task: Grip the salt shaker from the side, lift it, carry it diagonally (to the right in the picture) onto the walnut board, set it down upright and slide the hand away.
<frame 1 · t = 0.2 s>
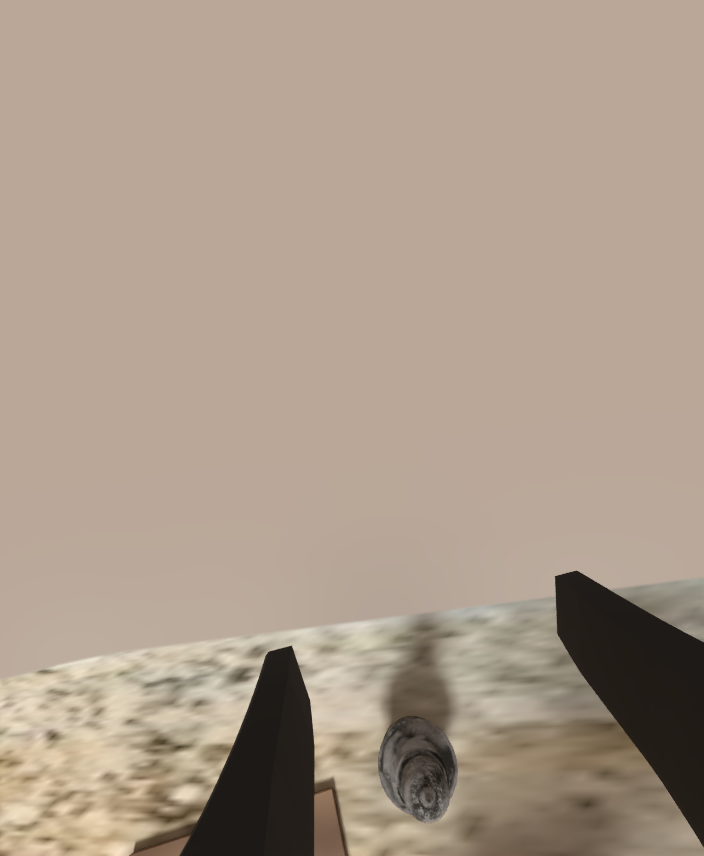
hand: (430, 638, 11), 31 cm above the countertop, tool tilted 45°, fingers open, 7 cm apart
salt shaker: (413, 754, 36), on the countertop
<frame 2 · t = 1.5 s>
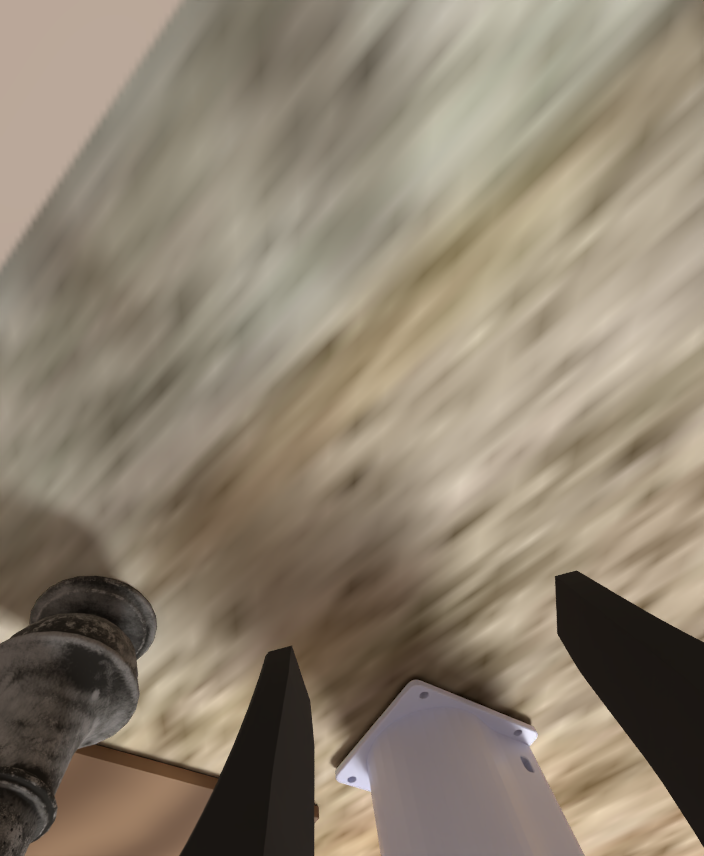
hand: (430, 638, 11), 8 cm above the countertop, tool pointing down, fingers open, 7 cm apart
salt shaker: (97, 621, 20), on the countertop
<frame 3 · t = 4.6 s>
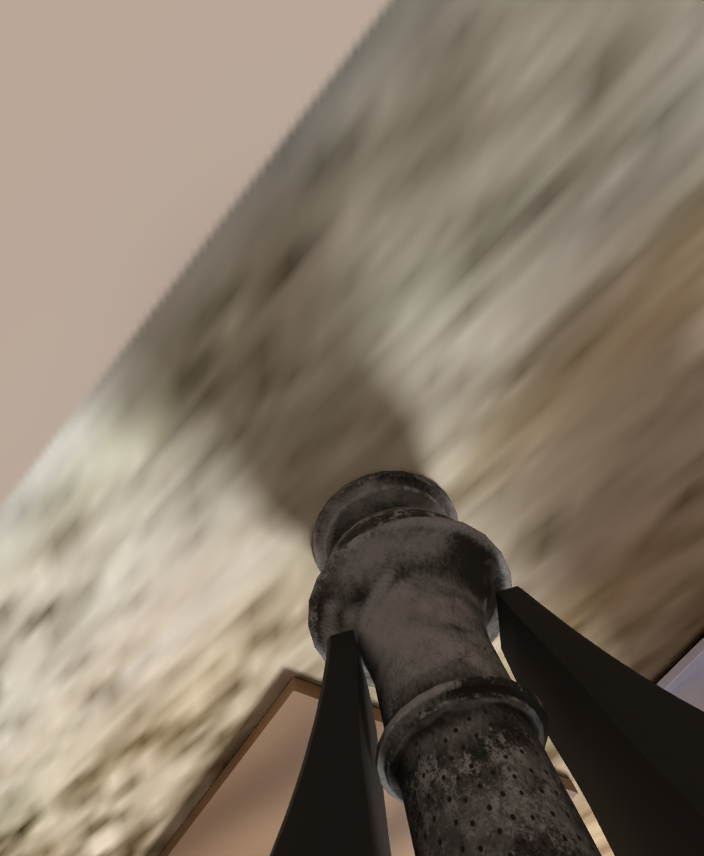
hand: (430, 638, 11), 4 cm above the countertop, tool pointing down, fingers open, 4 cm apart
salt shaker: (385, 535, 16), on the countertop, touching gripper
walnut board: (350, 843, 21), on the countertop
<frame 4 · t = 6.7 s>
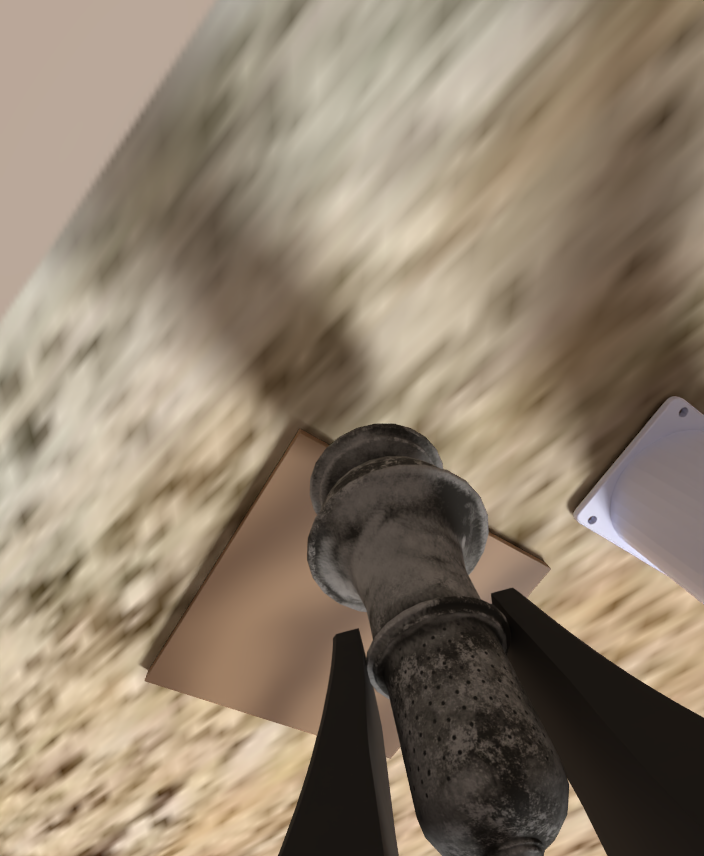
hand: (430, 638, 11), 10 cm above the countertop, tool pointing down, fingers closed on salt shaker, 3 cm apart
salt shaker: (376, 482, 17), point 4 cm above the countertop, touching gripper
walnut board: (351, 615, 24), on the countertop
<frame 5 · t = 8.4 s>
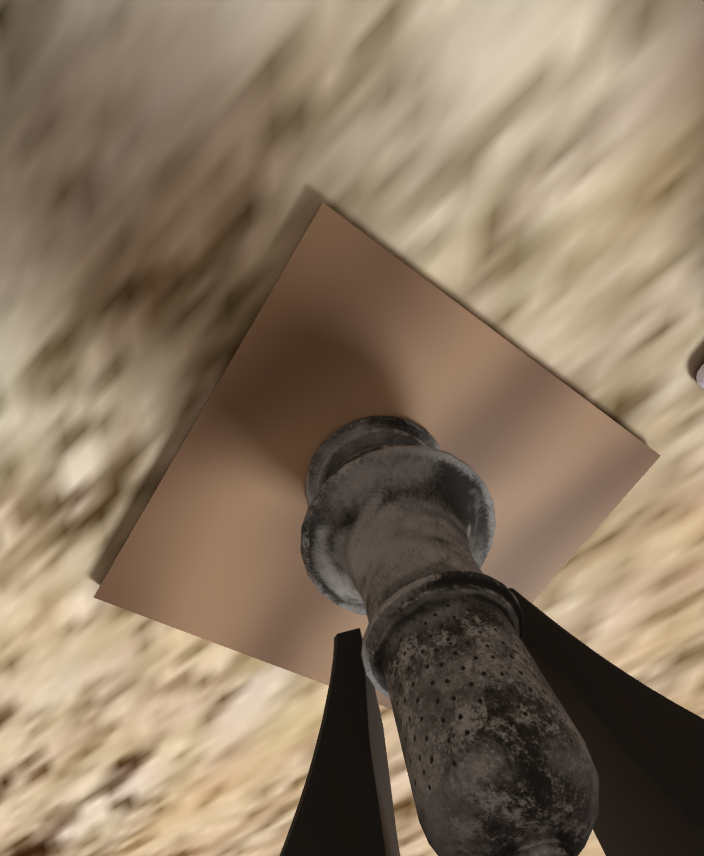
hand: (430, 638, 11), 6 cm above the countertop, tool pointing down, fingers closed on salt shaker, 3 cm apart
salt shaker: (376, 480, 16), resting on walnut board, touching gripper
walnut board: (384, 515, 17), on the countertop
when the fingers open (6 cm above the countertop, at t = 8.8 s): salt shaker stays where it is, resting on walnut board.
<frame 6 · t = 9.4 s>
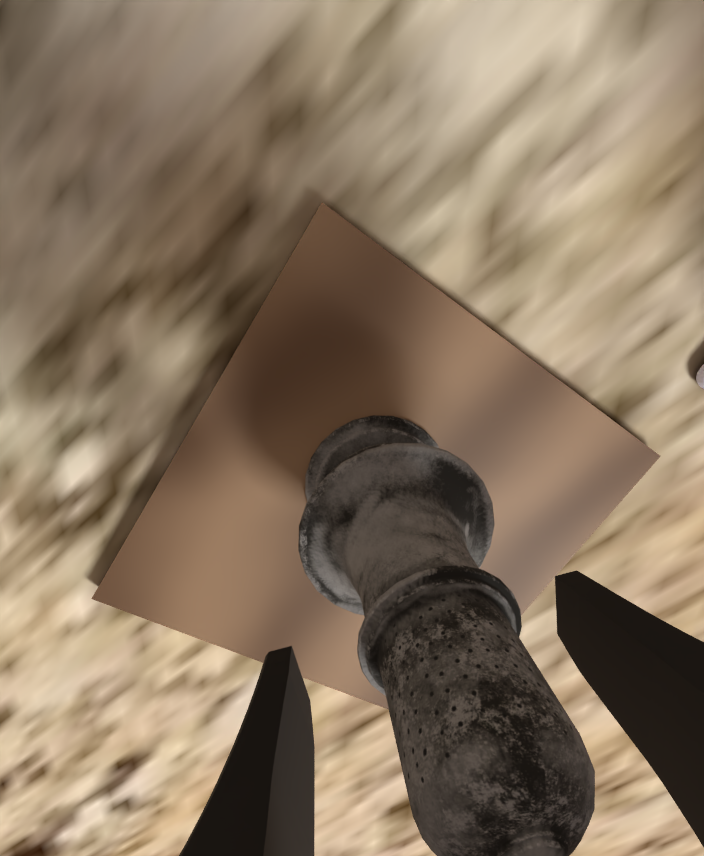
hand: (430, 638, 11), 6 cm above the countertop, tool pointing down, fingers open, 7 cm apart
salt shaker: (375, 480, 16), resting on walnut board
walnut board: (383, 516, 17), on the countertop
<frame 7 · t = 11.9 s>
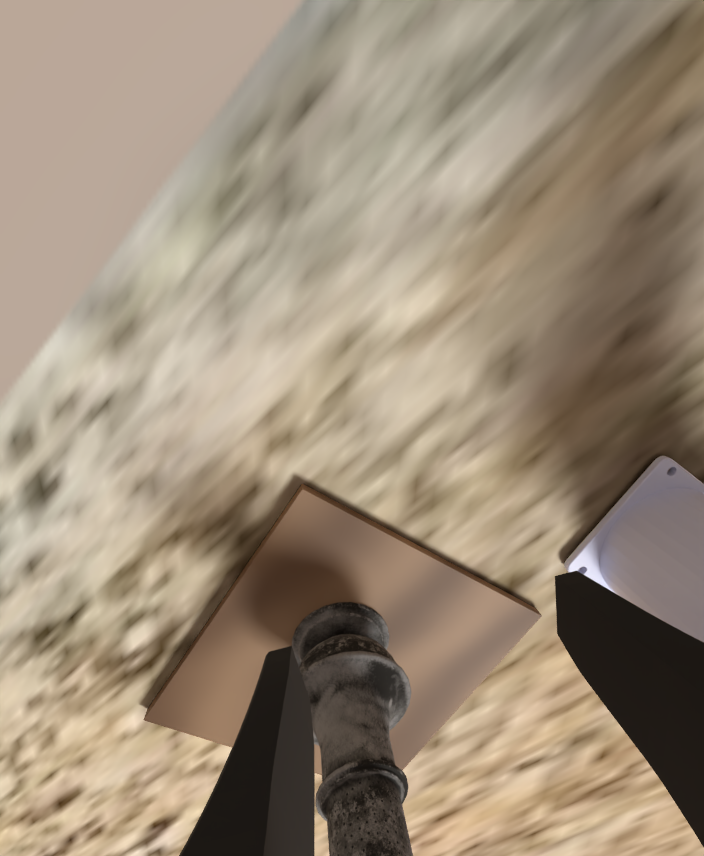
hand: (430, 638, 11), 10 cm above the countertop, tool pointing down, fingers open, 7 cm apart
salt shaker: (340, 639, 24), resting on walnut board
walnut board: (347, 657, 25), on the countertop
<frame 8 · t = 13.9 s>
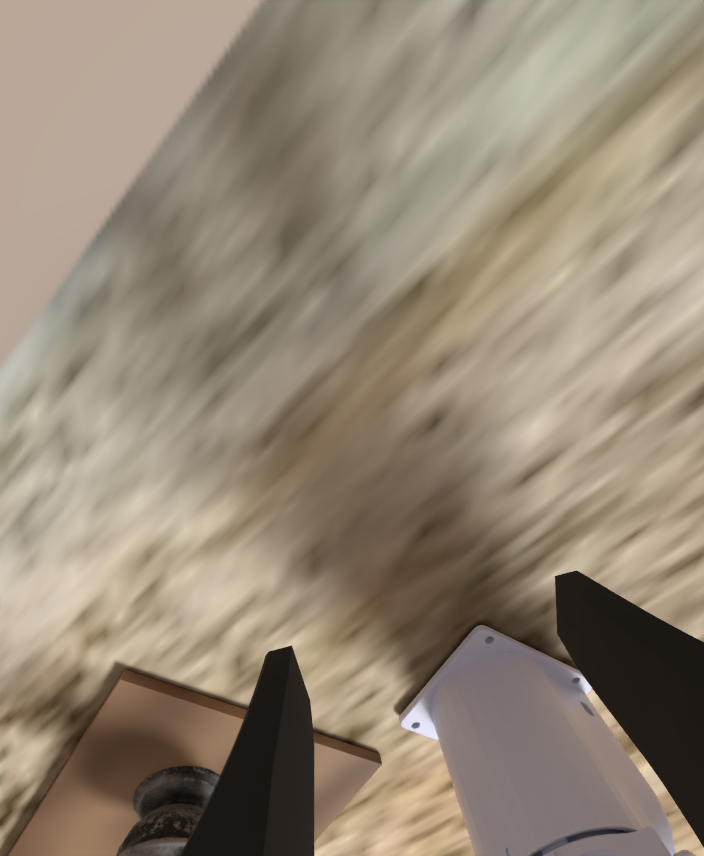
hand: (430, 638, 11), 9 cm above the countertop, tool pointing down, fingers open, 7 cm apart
salt shaker: (183, 794, 25), resting on walnut board
walnut board: (196, 805, 26), on the countertop
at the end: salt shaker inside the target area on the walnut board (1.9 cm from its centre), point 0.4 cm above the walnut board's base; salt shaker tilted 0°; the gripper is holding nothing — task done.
